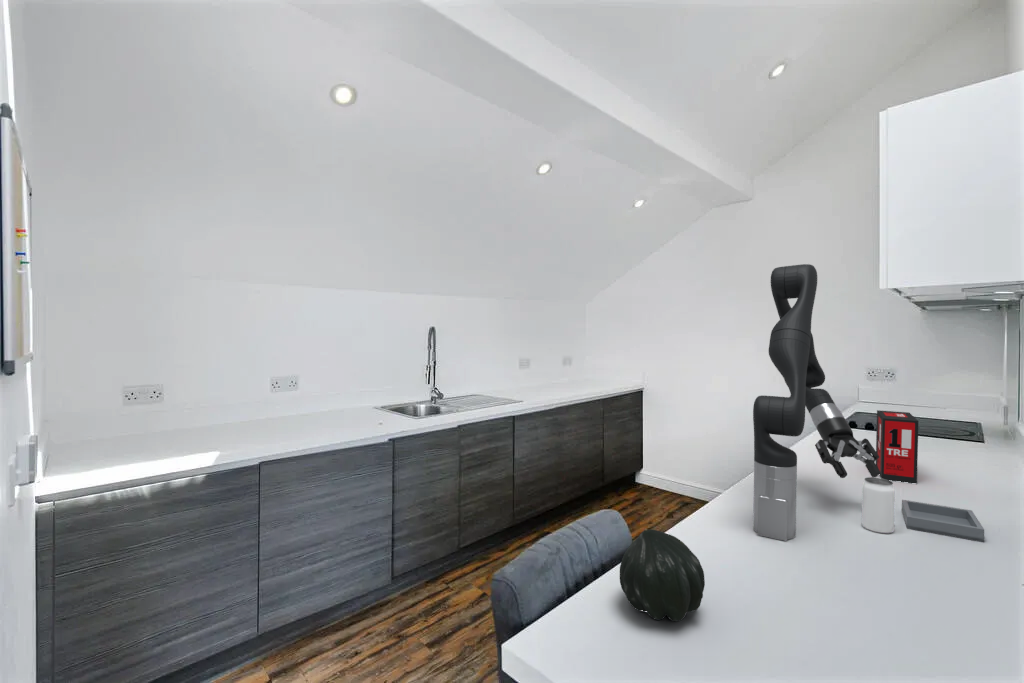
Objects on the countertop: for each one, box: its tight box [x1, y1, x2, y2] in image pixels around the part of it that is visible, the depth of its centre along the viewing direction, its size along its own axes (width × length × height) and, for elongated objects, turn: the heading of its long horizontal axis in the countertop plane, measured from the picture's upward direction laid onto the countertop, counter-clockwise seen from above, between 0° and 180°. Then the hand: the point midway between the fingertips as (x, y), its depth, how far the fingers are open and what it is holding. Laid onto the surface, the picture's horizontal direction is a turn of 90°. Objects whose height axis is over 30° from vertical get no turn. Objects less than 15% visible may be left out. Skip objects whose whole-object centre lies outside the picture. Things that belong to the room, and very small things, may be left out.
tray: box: [901, 499, 985, 543], centre depth 124 cm, size 14×14×3 cm
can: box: [861, 476, 896, 535], centre depth 122 cm, size 6×6×12 cm
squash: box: [619, 528, 706, 622], centre depth 89 cm, size 14×15×15 cm
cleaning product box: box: [875, 409, 919, 484], centre depth 164 cm, size 16×9×20 cm, turn 149°
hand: (860, 476), depth 128 cm, fingers open, 8 cm apart
